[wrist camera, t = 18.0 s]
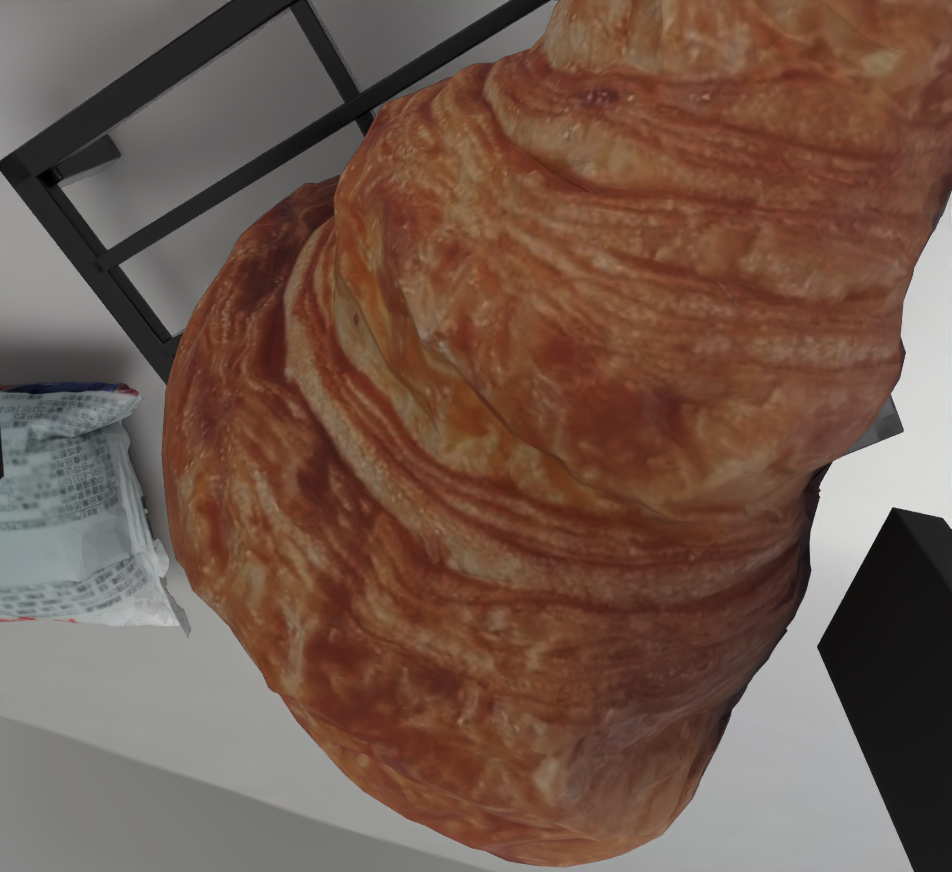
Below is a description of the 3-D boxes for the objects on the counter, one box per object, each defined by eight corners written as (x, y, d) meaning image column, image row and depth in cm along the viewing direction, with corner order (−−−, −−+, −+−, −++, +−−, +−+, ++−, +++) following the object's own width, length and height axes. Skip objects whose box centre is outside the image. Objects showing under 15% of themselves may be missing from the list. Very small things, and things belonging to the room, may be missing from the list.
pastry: (832, 1268, 10) (151, 1607, 7) (423, 695, 24) (128, 723, 21) (1150, -206, 8) (303, -720, 5) (488, 94, 22) (161, 20, 18)
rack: (623, -236, 18) (643, -288, 14) (855, 374, 24) (905, 431, 21) (71, 140, 22) (-7, 164, 19) (386, 573, 28) (368, 646, 25)
